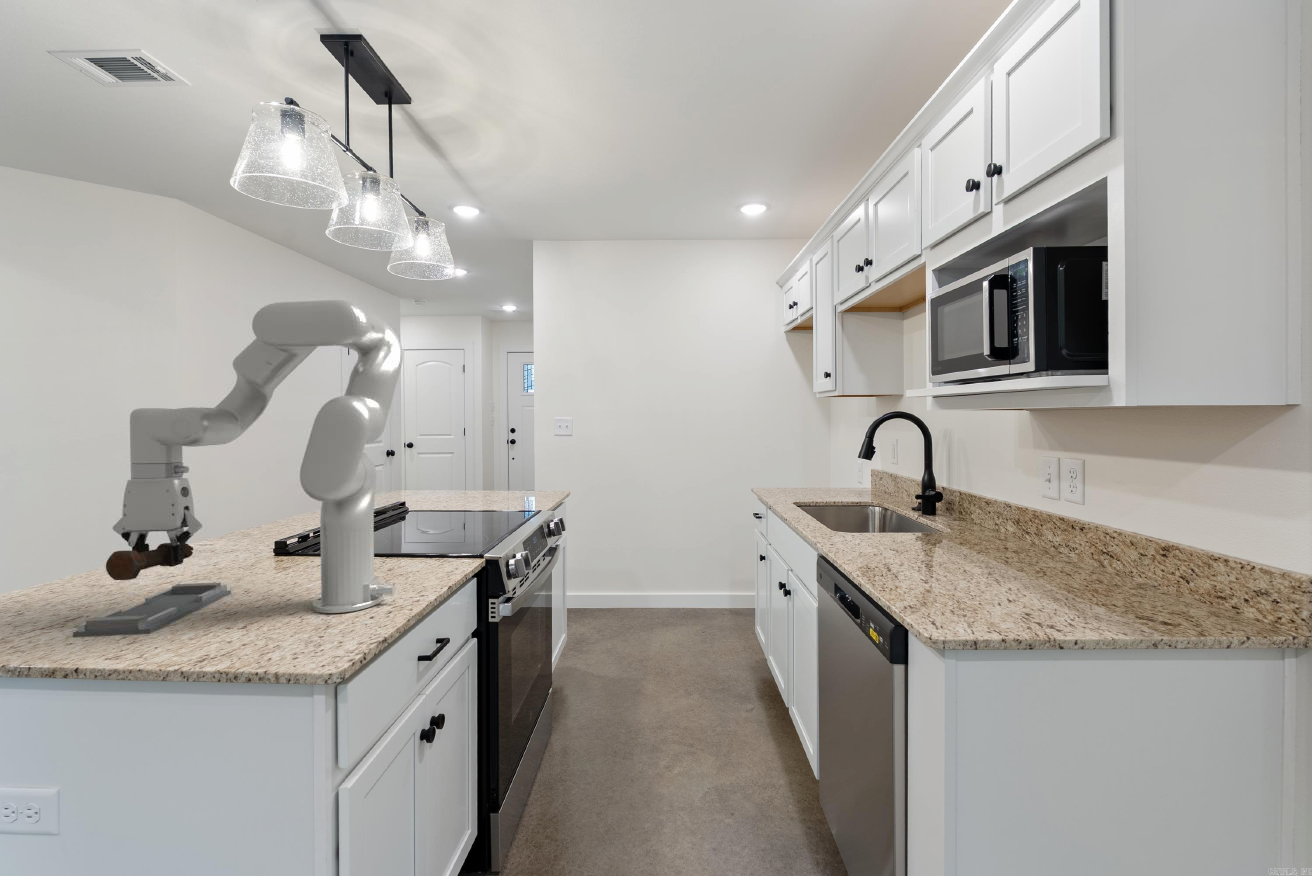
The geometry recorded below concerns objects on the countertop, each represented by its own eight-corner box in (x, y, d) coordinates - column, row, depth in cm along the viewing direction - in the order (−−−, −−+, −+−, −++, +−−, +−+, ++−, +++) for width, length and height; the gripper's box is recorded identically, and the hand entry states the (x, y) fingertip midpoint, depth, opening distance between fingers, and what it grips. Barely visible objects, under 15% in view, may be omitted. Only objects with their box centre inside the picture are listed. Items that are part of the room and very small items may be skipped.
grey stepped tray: (231, 593, 121) (231, 590, 121) (150, 633, 99) (149, 628, 99) (169, 596, 120) (169, 592, 120) (73, 636, 97) (72, 632, 97)
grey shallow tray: (226, 590, 121) (226, 581, 121) (144, 629, 99) (144, 618, 98) (173, 592, 120) (173, 583, 120) (78, 632, 97) (77, 621, 97)
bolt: (190, 568, 116) (124, 587, 101) (168, 556, 116) (99, 573, 101) (205, 543, 116) (141, 558, 101) (183, 531, 116) (116, 545, 101)
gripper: (218, 470, 113) (219, 559, 114) (123, 470, 111) (125, 561, 112) (192, 473, 106) (193, 569, 106) (90, 474, 104) (92, 571, 104)
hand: (158, 564), depth 109 cm, fingers closed on bolt, 5 cm apart
